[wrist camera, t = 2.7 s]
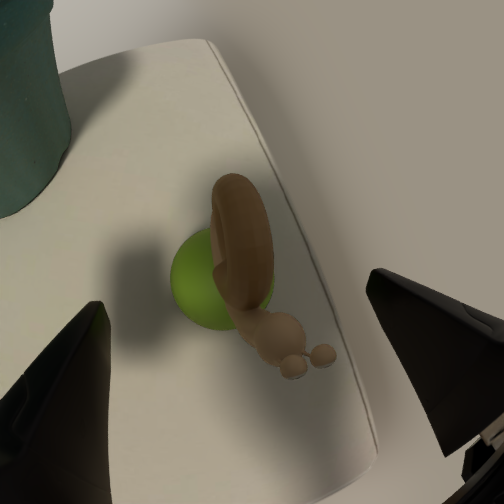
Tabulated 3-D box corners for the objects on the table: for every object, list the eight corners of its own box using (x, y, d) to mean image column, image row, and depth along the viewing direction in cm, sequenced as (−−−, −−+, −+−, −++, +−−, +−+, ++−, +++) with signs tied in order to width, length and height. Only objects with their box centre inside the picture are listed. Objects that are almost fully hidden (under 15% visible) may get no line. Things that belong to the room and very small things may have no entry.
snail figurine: (189, 354, 15) (176, 417, 4) (166, 253, 17) (127, 118, 5) (274, 332, 17) (414, 330, 5) (248, 237, 18) (328, 104, 7)
